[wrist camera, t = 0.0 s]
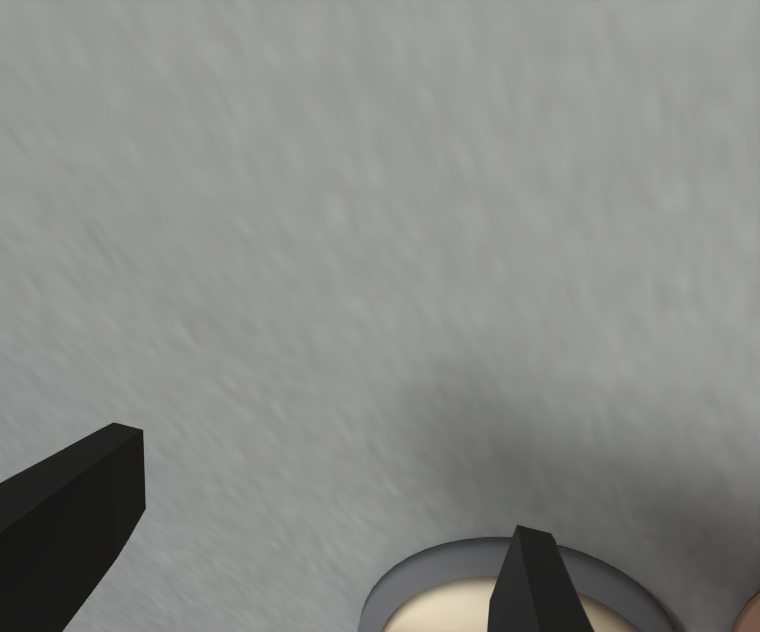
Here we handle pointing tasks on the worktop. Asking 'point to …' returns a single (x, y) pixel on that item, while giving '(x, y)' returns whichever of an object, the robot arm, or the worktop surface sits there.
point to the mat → (488, 561)
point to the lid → (477, 609)
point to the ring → (749, 617)
